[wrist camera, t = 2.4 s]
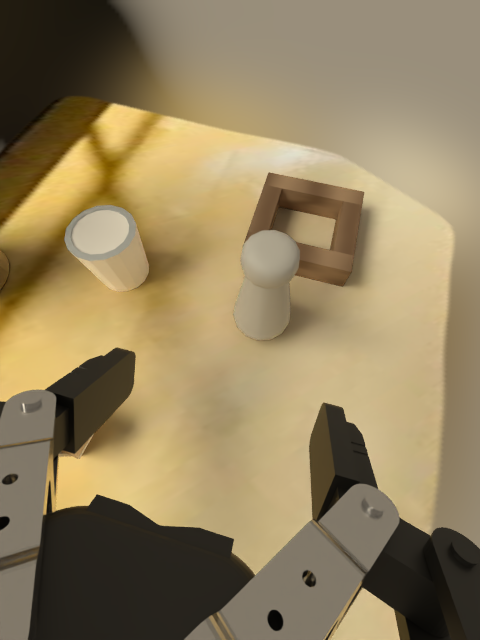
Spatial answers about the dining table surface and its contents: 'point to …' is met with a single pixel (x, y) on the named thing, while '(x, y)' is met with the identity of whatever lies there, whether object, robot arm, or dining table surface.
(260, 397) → the dining table surface
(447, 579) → the robot arm
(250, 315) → the salt shaker
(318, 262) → the socket
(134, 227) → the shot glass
